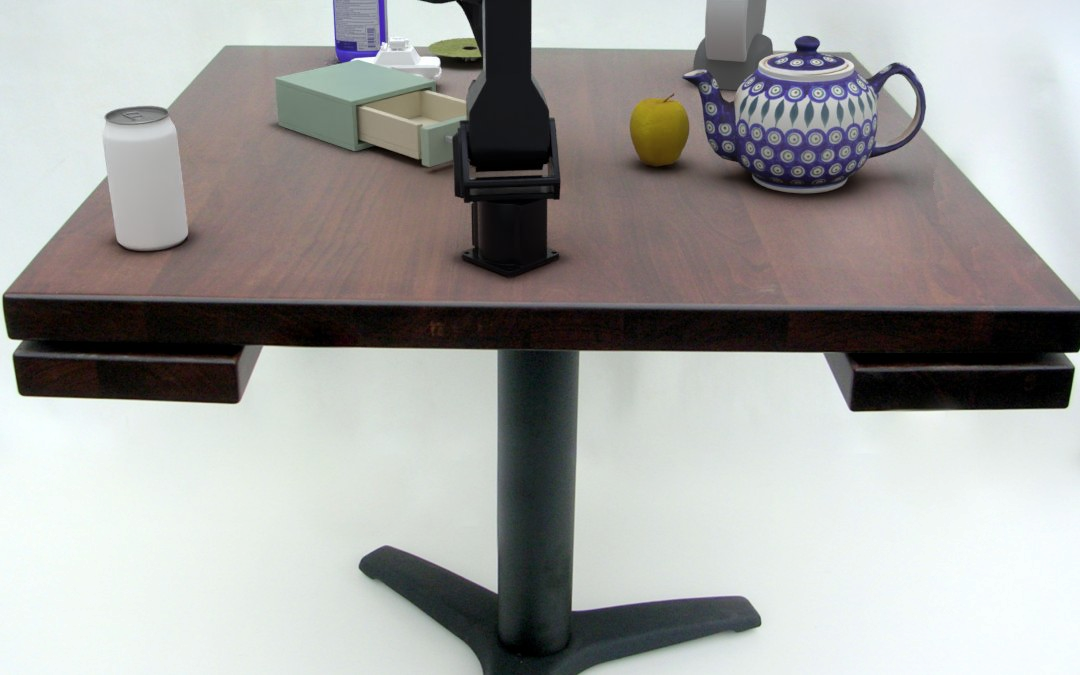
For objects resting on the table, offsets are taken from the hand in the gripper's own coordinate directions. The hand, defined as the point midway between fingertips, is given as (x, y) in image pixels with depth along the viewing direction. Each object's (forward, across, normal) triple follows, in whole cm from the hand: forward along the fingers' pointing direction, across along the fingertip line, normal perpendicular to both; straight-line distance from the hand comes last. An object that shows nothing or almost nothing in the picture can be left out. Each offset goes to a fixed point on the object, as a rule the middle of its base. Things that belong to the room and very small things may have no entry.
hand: (488, 58), depth 140 cm
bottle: (+12, -20, -46) cm, 52 cm away
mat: (+12, -31, -37) cm, 49 cm away
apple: (+12, -14, +12) cm, 22 cm away
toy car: (+12, -14, -32) cm, 37 cm away
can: (+12, +36, -7) cm, 39 cm away
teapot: (+12, -21, +25) cm, 34 cm away
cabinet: (+12, 0, -22) cm, 25 cm away
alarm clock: (+12, -49, -5) cm, 51 cm away
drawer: (+11, 0, -8) cm, 14 cm away
